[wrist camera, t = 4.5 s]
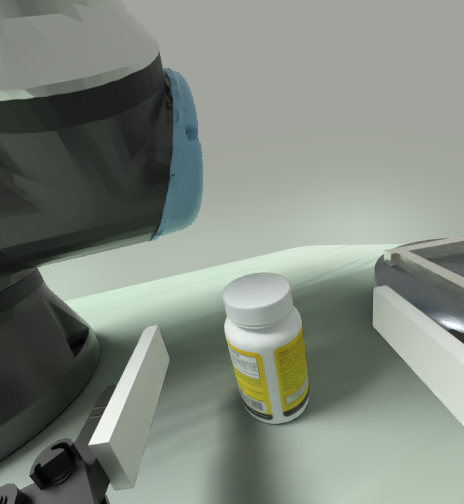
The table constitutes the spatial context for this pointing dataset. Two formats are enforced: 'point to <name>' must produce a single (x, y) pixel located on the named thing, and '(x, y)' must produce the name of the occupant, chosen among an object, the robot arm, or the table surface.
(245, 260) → the table surface
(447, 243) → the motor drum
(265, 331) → the supplement bottle
